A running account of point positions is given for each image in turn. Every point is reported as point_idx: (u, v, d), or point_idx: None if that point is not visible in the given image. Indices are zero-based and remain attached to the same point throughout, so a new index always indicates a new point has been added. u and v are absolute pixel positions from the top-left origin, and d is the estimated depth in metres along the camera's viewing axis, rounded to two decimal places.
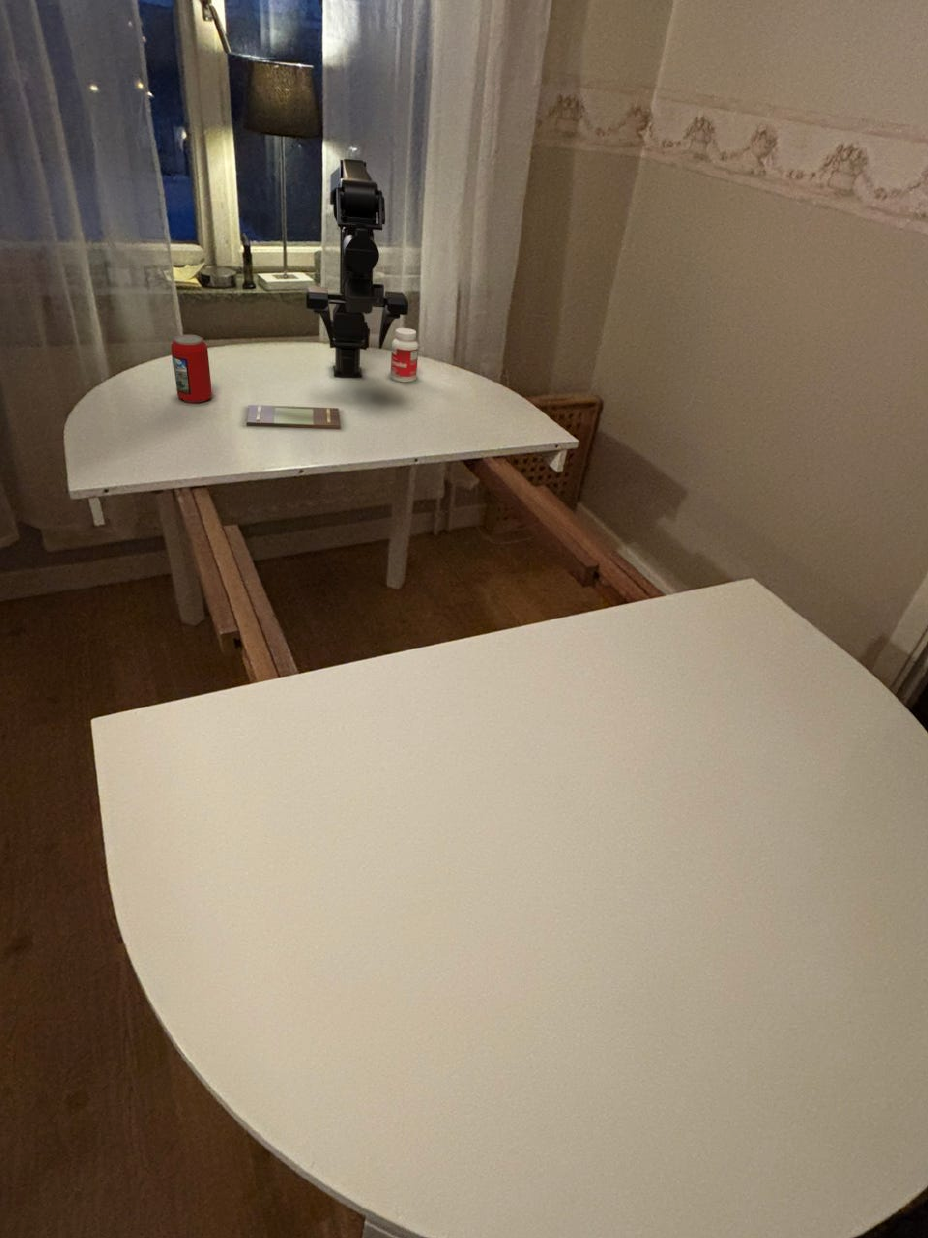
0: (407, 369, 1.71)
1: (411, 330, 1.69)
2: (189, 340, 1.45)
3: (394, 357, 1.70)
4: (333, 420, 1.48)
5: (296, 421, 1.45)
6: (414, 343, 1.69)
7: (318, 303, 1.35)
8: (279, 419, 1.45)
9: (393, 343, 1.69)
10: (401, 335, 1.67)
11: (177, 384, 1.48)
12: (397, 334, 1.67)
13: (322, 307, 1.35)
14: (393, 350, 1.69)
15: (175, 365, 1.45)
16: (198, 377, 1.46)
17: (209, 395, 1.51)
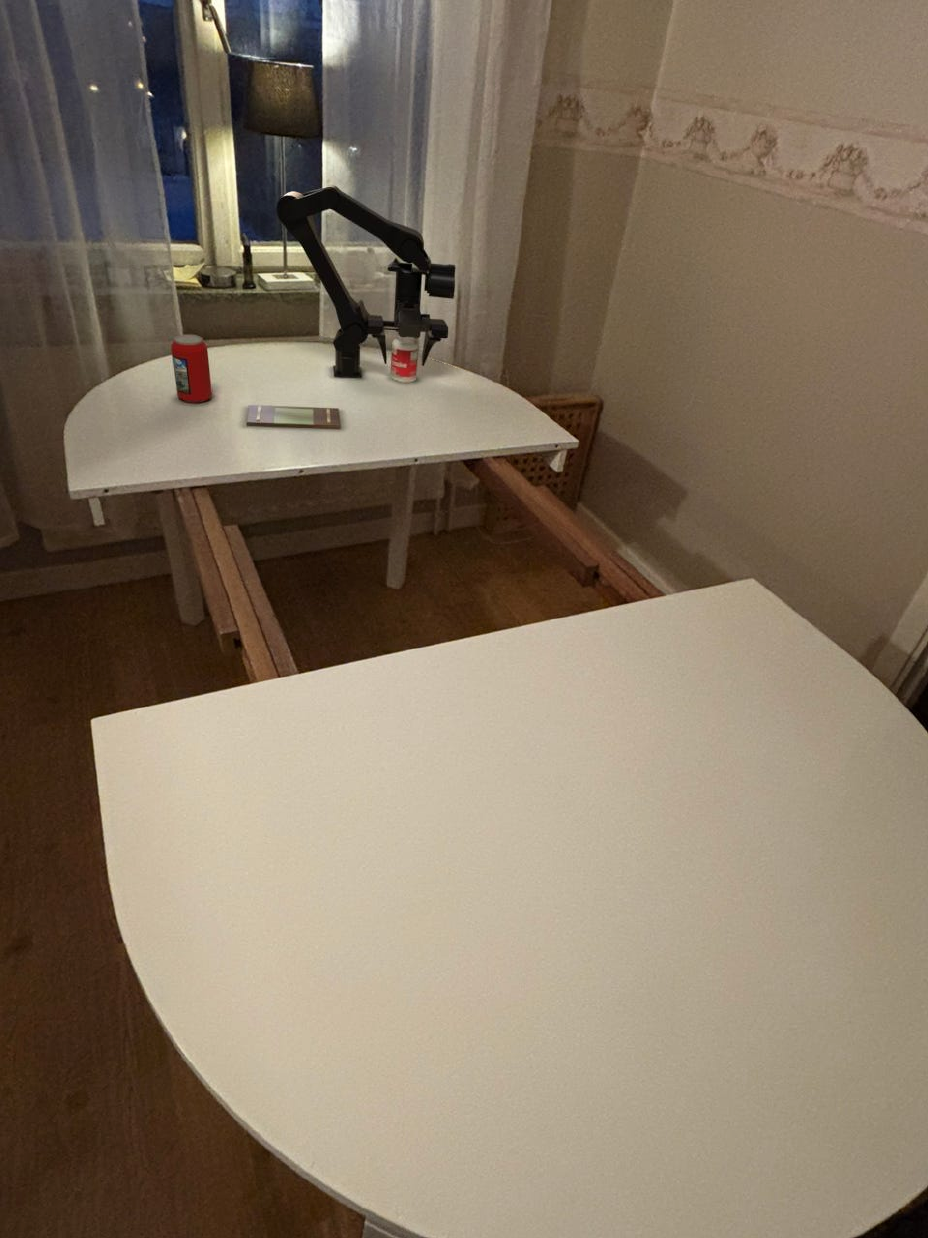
0: (407, 369, 1.71)
1: None
2: (189, 340, 1.45)
3: (394, 357, 1.70)
4: (333, 420, 1.48)
5: (296, 421, 1.45)
6: (414, 343, 1.69)
7: (375, 329, 1.64)
8: (279, 419, 1.45)
9: (393, 343, 1.69)
10: None
11: (177, 384, 1.48)
12: (397, 334, 1.67)
13: (379, 332, 1.65)
14: (393, 350, 1.69)
15: (175, 365, 1.45)
16: (198, 377, 1.46)
17: (209, 395, 1.51)
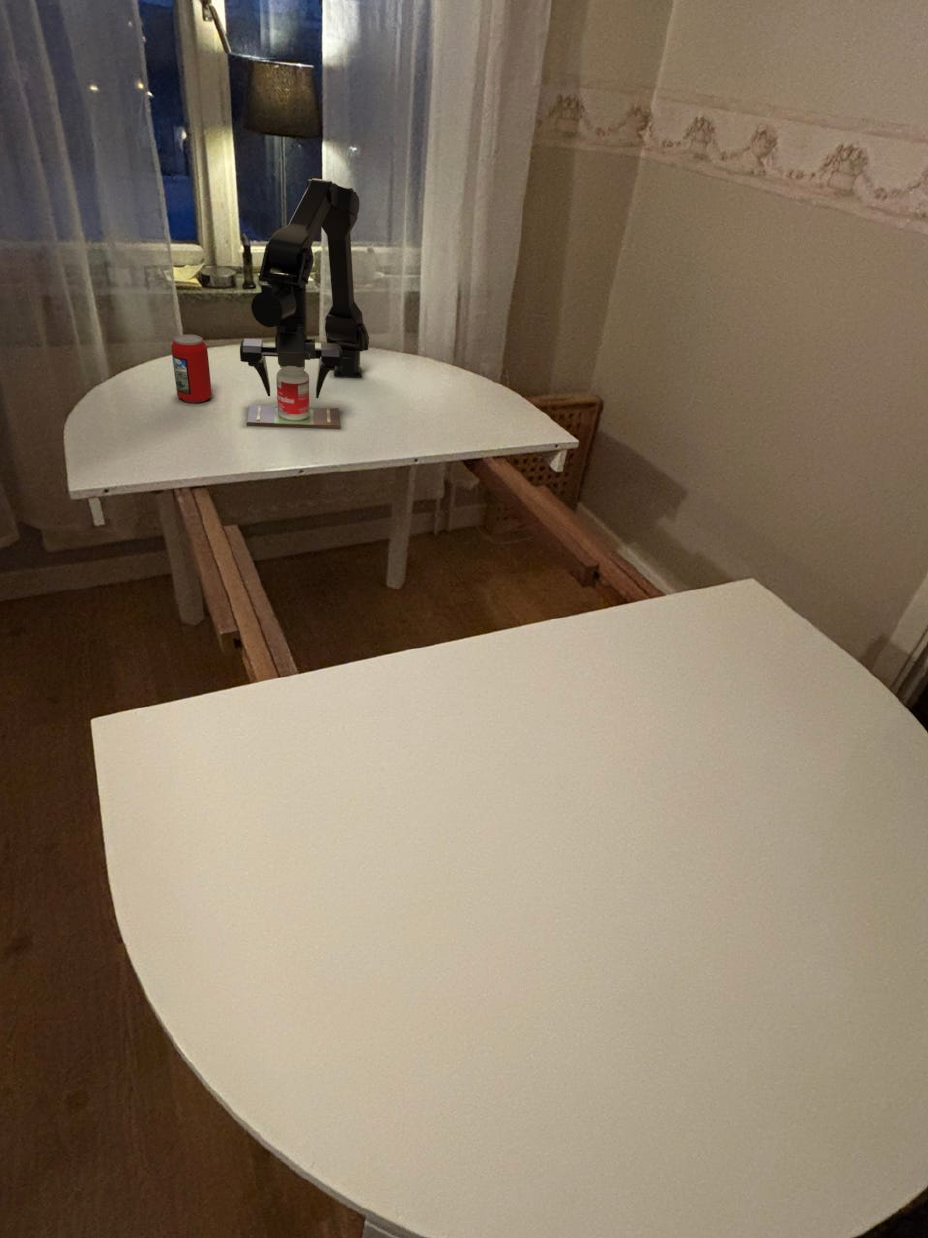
0: (295, 405, 1.43)
1: None
2: (189, 340, 1.45)
3: (279, 391, 1.42)
4: (333, 420, 1.48)
5: (296, 421, 1.45)
6: (302, 375, 1.41)
7: (252, 356, 1.36)
8: (279, 419, 1.45)
9: (277, 375, 1.41)
10: None
11: (177, 384, 1.48)
12: None
13: (256, 360, 1.37)
14: (278, 383, 1.42)
15: (175, 365, 1.45)
16: (198, 377, 1.46)
17: (209, 395, 1.51)
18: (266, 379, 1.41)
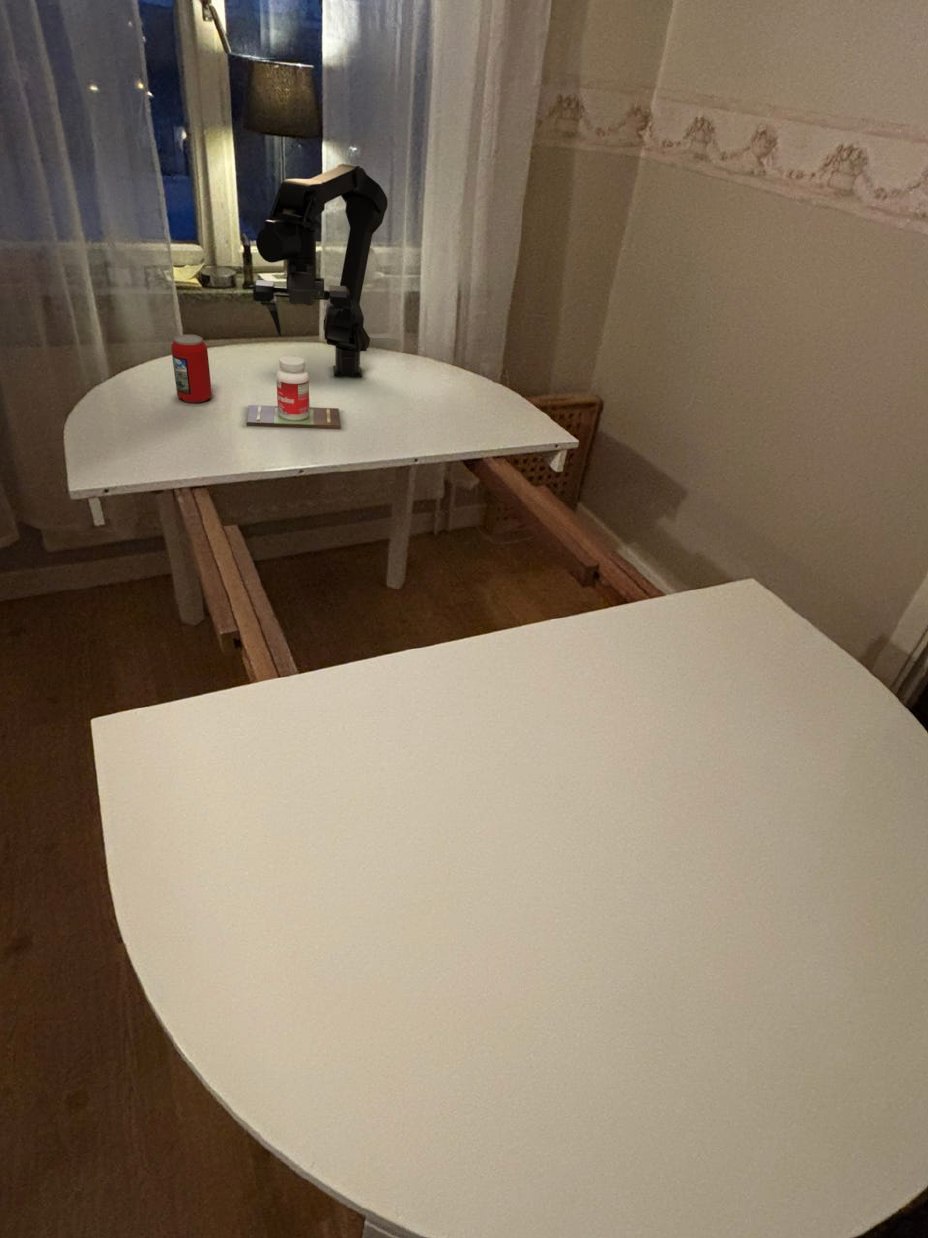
0: (295, 405, 1.43)
1: (299, 359, 1.42)
2: (189, 340, 1.45)
3: (279, 391, 1.42)
4: (333, 420, 1.48)
5: (296, 421, 1.45)
6: (302, 375, 1.41)
7: (264, 296, 1.44)
8: (279, 419, 1.45)
9: (277, 375, 1.41)
10: (285, 366, 1.40)
11: (177, 384, 1.48)
12: (281, 364, 1.40)
13: (268, 299, 1.45)
14: (278, 383, 1.42)
15: (175, 365, 1.45)
16: (198, 377, 1.46)
17: (209, 395, 1.51)
18: (277, 319, 1.49)
